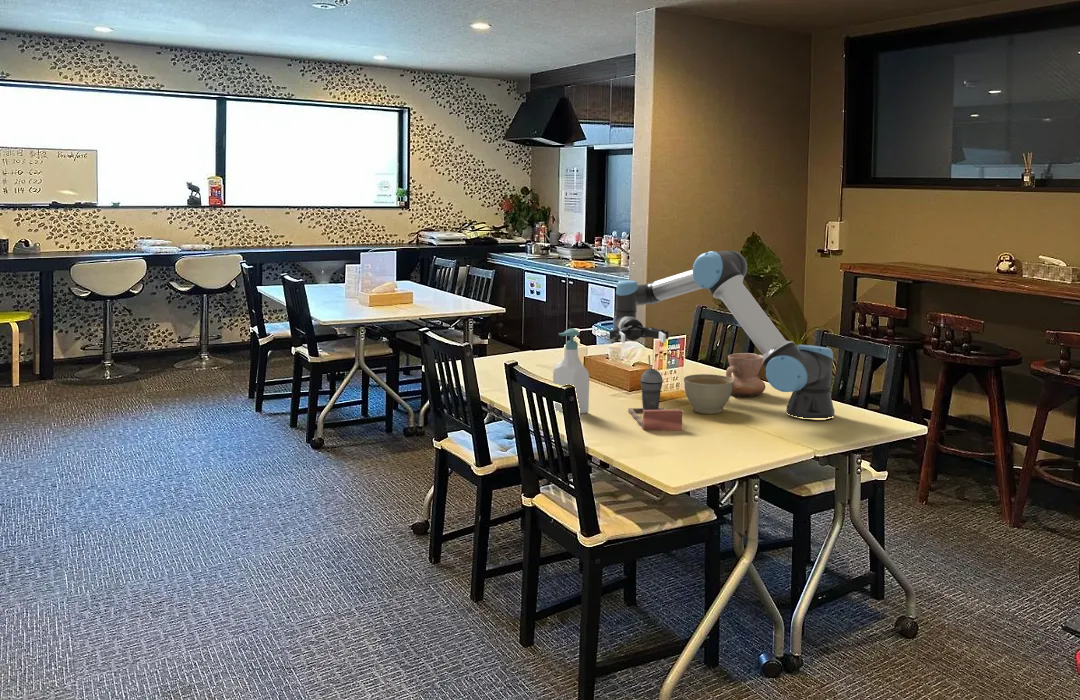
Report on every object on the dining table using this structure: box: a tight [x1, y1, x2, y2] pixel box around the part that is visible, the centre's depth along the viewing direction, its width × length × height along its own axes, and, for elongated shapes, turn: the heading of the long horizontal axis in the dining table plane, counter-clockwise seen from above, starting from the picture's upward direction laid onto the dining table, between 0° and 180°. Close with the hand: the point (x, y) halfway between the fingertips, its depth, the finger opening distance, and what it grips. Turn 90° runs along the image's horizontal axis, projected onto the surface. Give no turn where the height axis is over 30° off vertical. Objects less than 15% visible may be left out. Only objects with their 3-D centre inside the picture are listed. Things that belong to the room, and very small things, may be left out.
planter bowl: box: [683, 373, 734, 415], centre depth 302 cm, size 16×16×11 cm
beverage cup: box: [639, 354, 664, 410], centre depth 293 cm, size 7×7×20 cm
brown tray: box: [627, 407, 684, 431], centre depth 289 cm, size 23×12×6 cm, turn 6°
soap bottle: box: [552, 328, 590, 414], centre depth 297 cm, size 11×8×27 cm
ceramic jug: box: [725, 352, 767, 397], centre depth 326 cm, size 18×14×14 cm
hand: (644, 339), depth 300 cm, fingers open, 13 cm apart
